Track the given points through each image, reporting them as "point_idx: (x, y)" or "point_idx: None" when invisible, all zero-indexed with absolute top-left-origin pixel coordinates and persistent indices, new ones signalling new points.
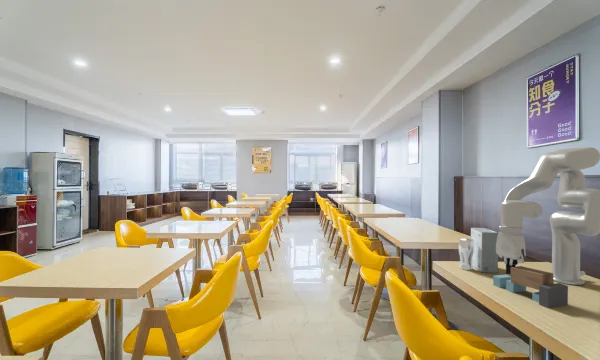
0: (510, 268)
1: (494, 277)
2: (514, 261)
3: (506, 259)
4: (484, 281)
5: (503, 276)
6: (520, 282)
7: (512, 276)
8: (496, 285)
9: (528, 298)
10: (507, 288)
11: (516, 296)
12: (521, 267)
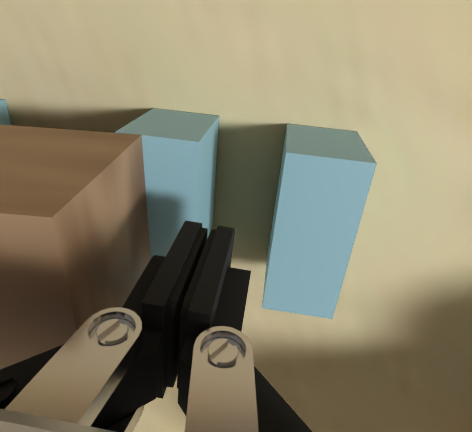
0: (60, 204)
1: (356, 156)
2: (7, 388)
3: (187, 409)
4: (464, 148)
5: (302, 243)
6: (19, 135)
7: (90, 155)
8: (321, 130)
9: (33, 102)
10: (203, 119)
11: (81, 45)
12: (15, 343)
